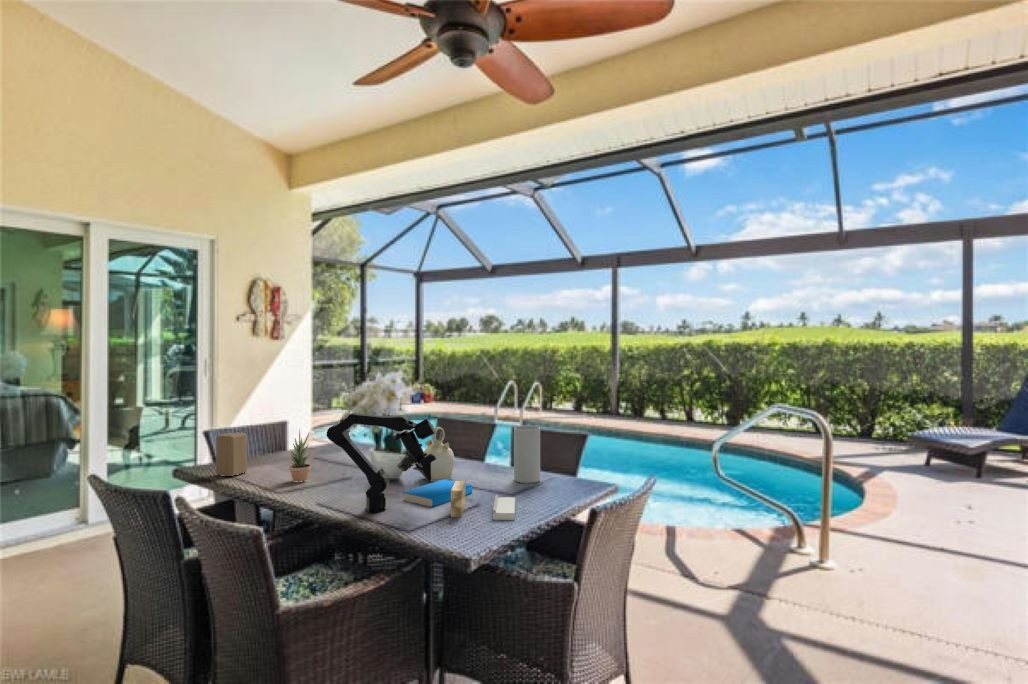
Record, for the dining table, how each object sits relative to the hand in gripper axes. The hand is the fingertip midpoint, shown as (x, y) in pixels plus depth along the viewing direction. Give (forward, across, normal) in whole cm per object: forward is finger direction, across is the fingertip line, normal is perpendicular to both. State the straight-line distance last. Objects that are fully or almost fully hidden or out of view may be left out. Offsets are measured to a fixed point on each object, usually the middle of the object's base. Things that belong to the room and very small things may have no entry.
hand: (429, 480), depth 215 cm
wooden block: (-36, -101, -53) cm, 120 cm away
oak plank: (+15, +4, +3) cm, 16 cm away
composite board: (+23, +13, +17) cm, 32 cm away
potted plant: (-19, -72, -31) cm, 81 cm away
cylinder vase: (+29, -21, +50) cm, 61 cm away
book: (+12, -18, +6) cm, 22 cm away
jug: (+10, -44, +19) cm, 49 cm away
